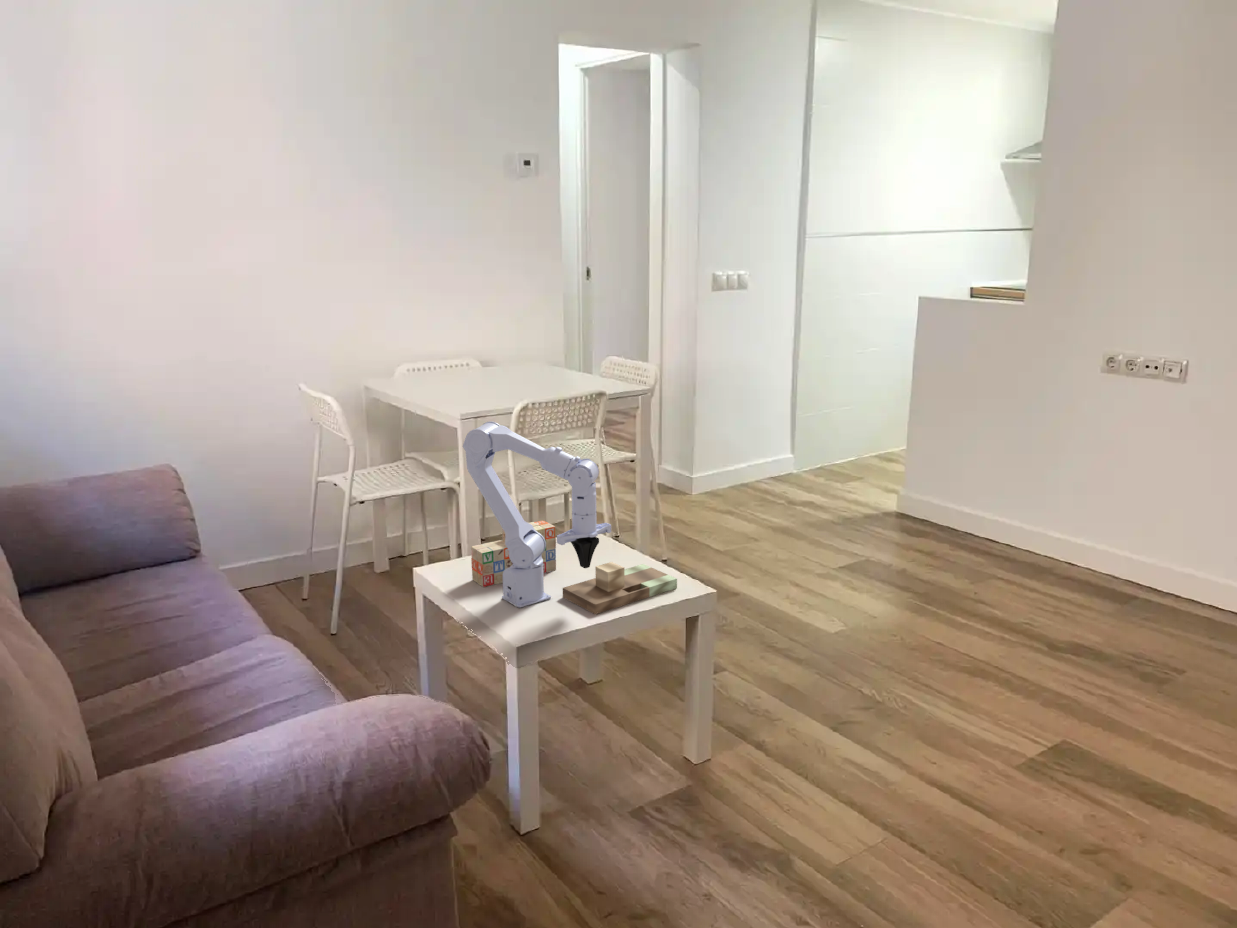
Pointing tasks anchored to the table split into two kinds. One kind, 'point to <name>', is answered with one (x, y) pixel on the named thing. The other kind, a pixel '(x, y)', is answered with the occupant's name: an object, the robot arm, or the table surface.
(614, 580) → the maple block
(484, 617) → the table surface
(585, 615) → the table surface
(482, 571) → the stack of blocks
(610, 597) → the trap board
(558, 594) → the table surface
